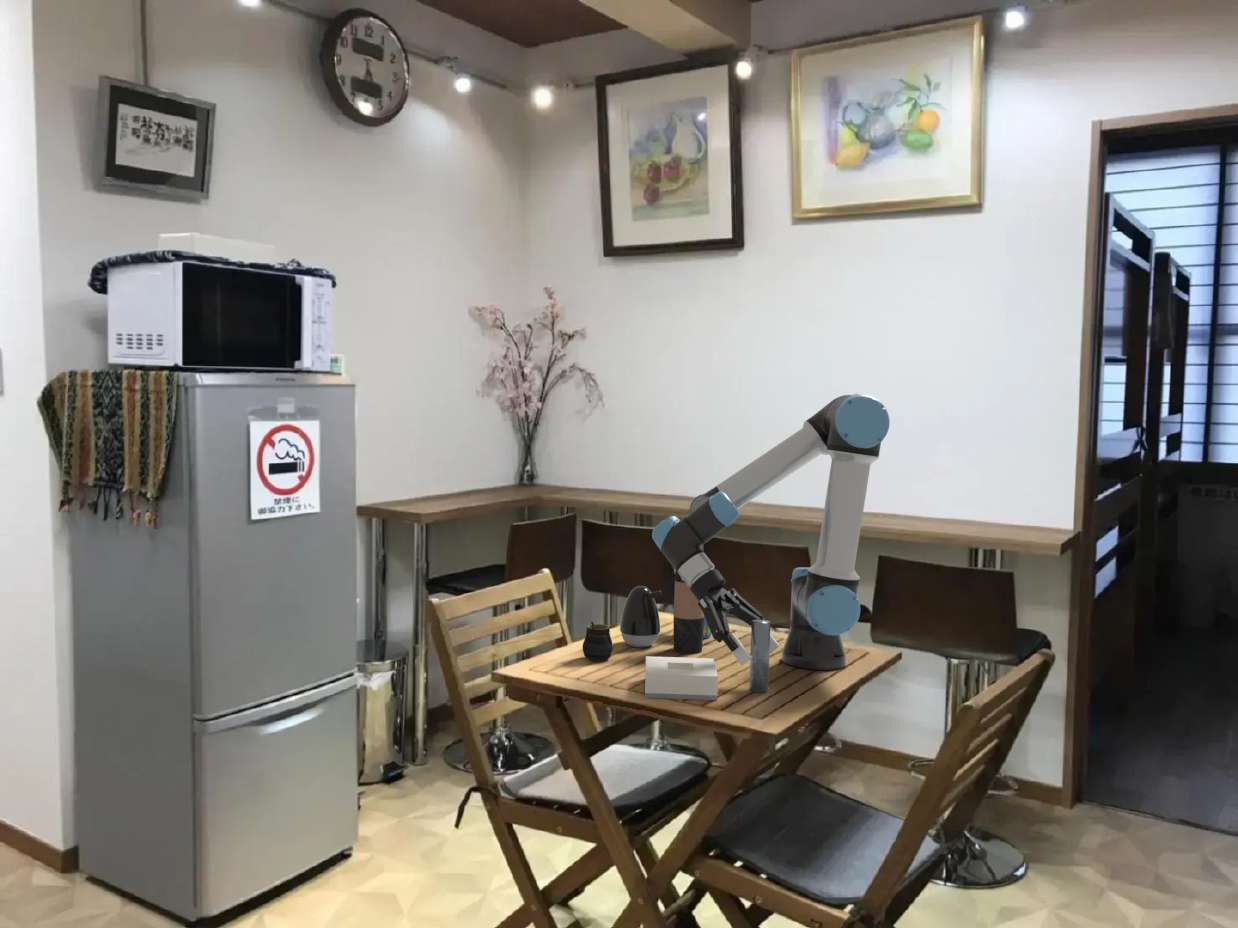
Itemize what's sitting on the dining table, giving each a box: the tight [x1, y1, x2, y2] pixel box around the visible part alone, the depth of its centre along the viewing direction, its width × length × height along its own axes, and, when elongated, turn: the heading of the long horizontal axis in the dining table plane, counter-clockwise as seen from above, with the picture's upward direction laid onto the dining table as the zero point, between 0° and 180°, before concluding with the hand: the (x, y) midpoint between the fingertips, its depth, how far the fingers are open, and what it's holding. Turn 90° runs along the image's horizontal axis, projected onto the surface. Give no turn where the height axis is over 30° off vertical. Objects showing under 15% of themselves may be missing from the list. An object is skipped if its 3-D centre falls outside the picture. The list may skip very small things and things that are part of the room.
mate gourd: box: [582, 621, 614, 662], centre depth 239 cm, size 7×8×10 cm
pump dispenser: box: [619, 585, 662, 648], centre depth 254 cm, size 10×10×15 cm
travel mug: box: [673, 569, 704, 655], centre depth 250 cm, size 8×8×20 cm
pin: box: [748, 619, 771, 694], centre depth 216 cm, size 4×4×15 cm
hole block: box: [644, 655, 719, 701], centre depth 215 cm, size 15×15×5 cm
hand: (761, 655), depth 215 cm, fingers open, 13 cm apart
